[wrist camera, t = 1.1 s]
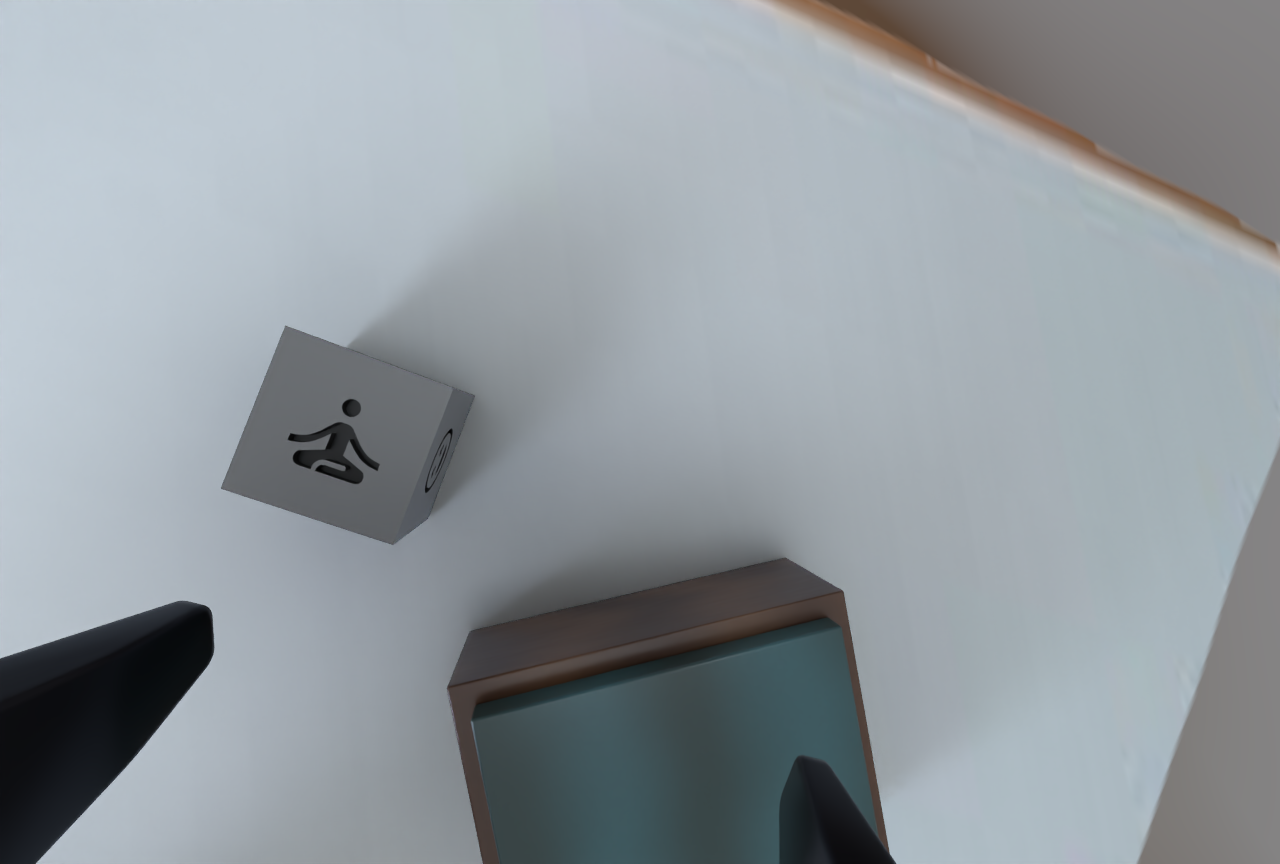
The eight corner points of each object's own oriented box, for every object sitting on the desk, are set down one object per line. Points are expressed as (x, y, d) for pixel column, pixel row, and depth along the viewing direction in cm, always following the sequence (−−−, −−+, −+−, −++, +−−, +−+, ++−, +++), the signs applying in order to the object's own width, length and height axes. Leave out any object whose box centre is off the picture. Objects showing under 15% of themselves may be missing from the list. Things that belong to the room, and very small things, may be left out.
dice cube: (295, 474, 22) (220, 488, 17) (344, 347, 22) (285, 325, 17) (427, 518, 23) (393, 545, 18) (475, 395, 23) (453, 388, 18)
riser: (529, 926, 23) (521, 1096, 18) (469, 630, 23) (439, 702, 17) (835, 833, 25) (922, 958, 19) (786, 557, 25) (859, 599, 19)
